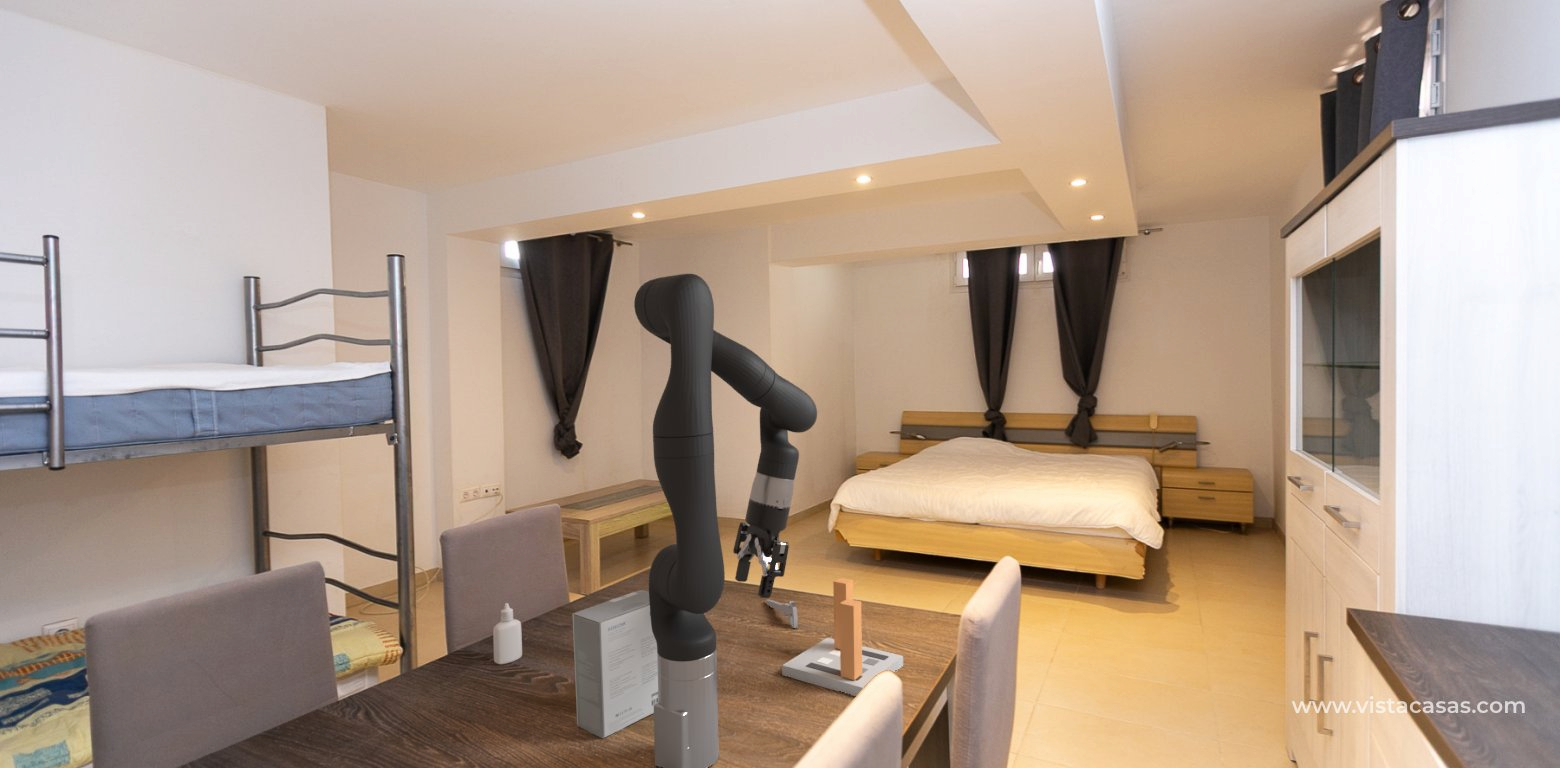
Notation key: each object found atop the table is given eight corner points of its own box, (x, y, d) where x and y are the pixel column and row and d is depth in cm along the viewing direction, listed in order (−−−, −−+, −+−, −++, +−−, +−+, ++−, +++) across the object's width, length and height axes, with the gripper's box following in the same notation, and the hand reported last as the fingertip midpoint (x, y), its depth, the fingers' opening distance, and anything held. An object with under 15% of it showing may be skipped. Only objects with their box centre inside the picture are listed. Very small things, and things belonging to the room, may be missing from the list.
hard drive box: (645, 693, 136) (642, 588, 135) (672, 705, 131) (670, 596, 130) (574, 726, 124) (571, 611, 123) (602, 740, 119) (599, 621, 118)
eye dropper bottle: (493, 658, 153) (492, 602, 153) (521, 653, 156) (520, 598, 155) (494, 666, 149) (492, 608, 149) (523, 661, 151) (521, 604, 151)
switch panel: (862, 698, 132) (862, 687, 132) (782, 675, 143) (782, 664, 142) (903, 665, 146) (903, 655, 146) (827, 646, 156) (827, 637, 156)
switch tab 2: (854, 680, 135) (853, 606, 134) (840, 676, 136) (839, 603, 136) (862, 674, 137) (861, 601, 137) (848, 670, 139) (847, 598, 138)
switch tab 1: (846, 651, 148) (845, 583, 148) (834, 648, 150) (833, 581, 150) (854, 646, 151) (853, 580, 150) (841, 643, 152) (840, 577, 152)
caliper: (798, 630, 167) (797, 603, 167) (793, 630, 167) (793, 603, 167) (767, 603, 186) (767, 579, 186) (763, 603, 186) (763, 579, 186)
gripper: (733, 489, 134) (716, 575, 133) (773, 508, 122) (753, 602, 121) (767, 493, 138) (750, 577, 137) (809, 511, 126) (790, 603, 125)
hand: (752, 588), depth 129 cm, fingers open, 8 cm apart
